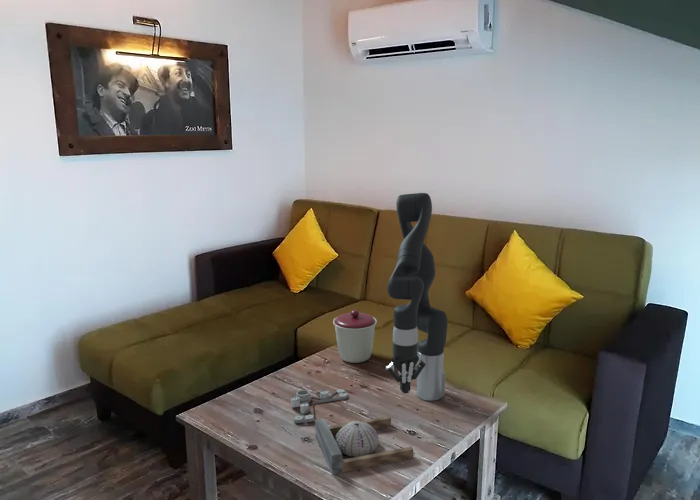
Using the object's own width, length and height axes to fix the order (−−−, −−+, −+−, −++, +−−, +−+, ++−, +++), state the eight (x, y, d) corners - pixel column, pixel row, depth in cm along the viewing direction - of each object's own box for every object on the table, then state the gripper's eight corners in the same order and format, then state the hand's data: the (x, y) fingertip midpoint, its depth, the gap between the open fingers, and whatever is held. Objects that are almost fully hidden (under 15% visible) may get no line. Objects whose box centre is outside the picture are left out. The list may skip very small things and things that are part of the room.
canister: (324, 359, 238) (323, 311, 233) (352, 345, 251) (352, 300, 246) (358, 371, 226) (357, 321, 221) (385, 356, 240) (385, 309, 235)
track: (389, 424, 188) (389, 407, 187) (413, 458, 169) (413, 440, 168) (315, 437, 181) (315, 420, 180) (332, 474, 162) (331, 455, 161)
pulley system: (271, 417, 195) (306, 428, 186) (270, 405, 194) (305, 415, 185) (320, 388, 217) (352, 397, 208) (319, 377, 216) (352, 385, 207)
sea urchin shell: (385, 441, 178) (385, 418, 176) (367, 465, 166) (367, 441, 165) (347, 431, 184) (347, 409, 182) (327, 454, 172) (327, 430, 170)
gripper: (420, 332, 176) (419, 383, 180) (380, 338, 172) (380, 390, 177) (430, 341, 169) (430, 394, 173) (389, 347, 165) (389, 401, 170)
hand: (405, 392), depth 175 cm, fingers closed
